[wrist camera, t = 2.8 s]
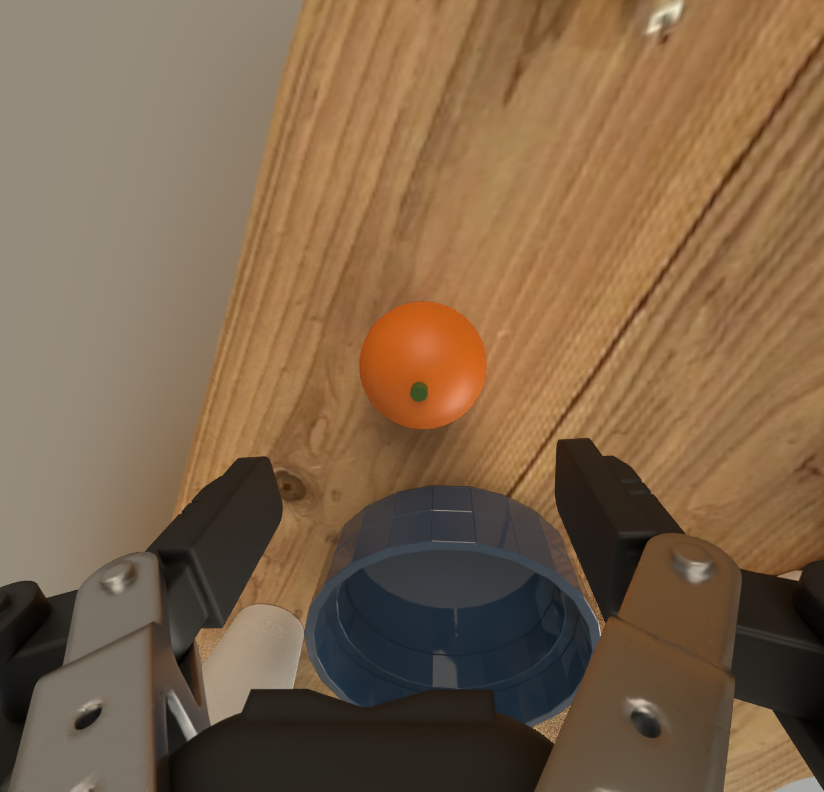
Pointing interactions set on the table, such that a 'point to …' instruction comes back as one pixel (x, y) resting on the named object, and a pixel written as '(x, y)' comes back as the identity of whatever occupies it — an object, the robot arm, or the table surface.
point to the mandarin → (423, 365)
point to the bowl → (452, 604)
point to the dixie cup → (252, 658)
